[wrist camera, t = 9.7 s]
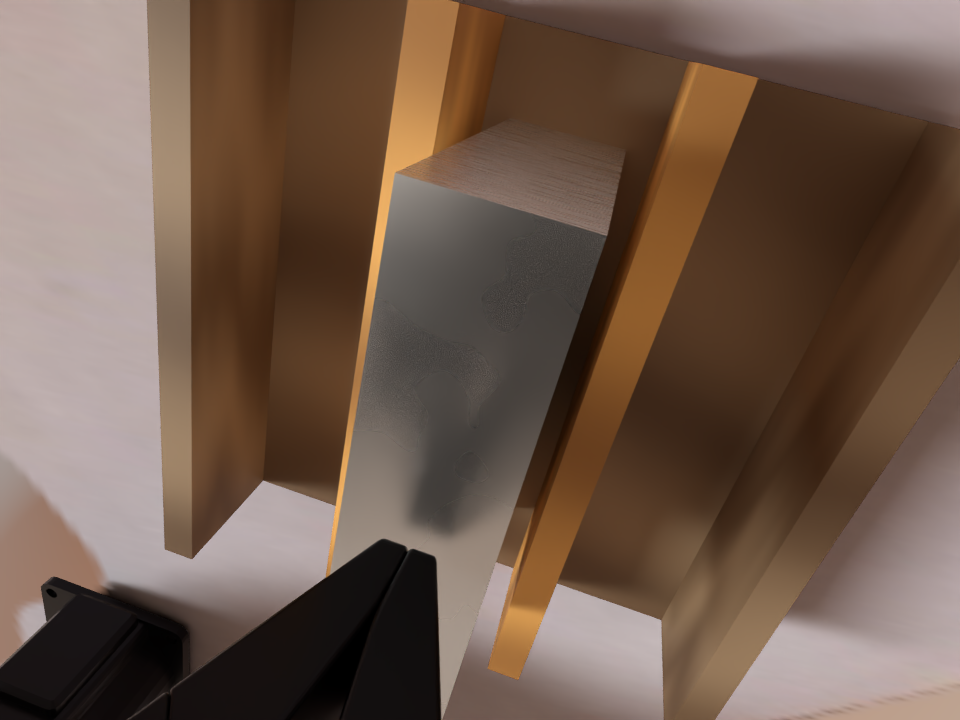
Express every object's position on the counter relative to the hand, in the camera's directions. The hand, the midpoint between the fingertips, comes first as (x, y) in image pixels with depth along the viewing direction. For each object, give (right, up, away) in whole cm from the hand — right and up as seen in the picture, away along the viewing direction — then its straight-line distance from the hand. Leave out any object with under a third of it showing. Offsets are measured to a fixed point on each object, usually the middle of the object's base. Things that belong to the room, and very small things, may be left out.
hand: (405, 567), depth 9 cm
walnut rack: (+2, +4, +8) cm, 9 cm away
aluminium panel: (+2, +3, +7) cm, 8 cm away
